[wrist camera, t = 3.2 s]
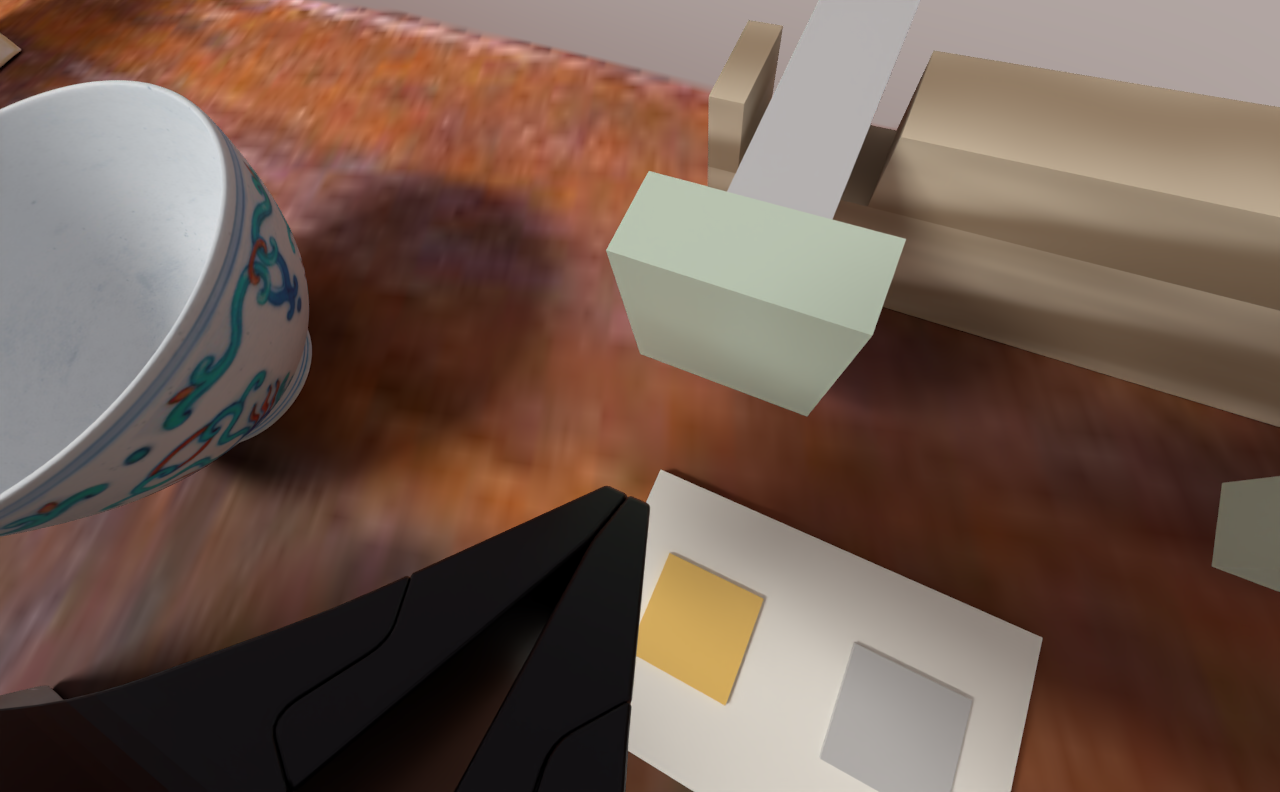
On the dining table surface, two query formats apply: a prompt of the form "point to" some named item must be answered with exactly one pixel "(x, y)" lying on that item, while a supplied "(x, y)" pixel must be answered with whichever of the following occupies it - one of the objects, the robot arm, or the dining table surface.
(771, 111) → the button
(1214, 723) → the dining table surface
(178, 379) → the chinaware
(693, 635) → the card
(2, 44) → the coffeecake box
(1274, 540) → the button
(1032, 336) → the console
